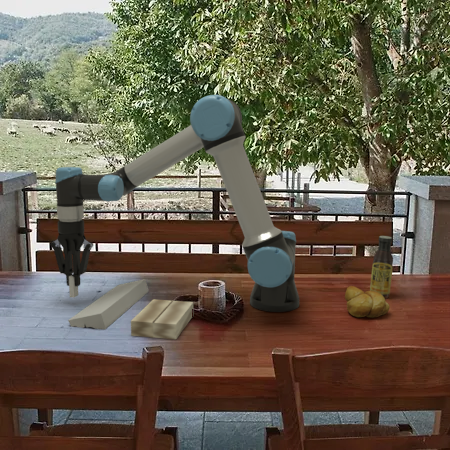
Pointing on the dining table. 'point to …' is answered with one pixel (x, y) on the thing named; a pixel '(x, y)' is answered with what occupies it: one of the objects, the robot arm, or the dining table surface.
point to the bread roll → (365, 303)
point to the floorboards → (162, 319)
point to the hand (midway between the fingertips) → (74, 296)
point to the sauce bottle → (382, 267)
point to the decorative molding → (110, 305)
